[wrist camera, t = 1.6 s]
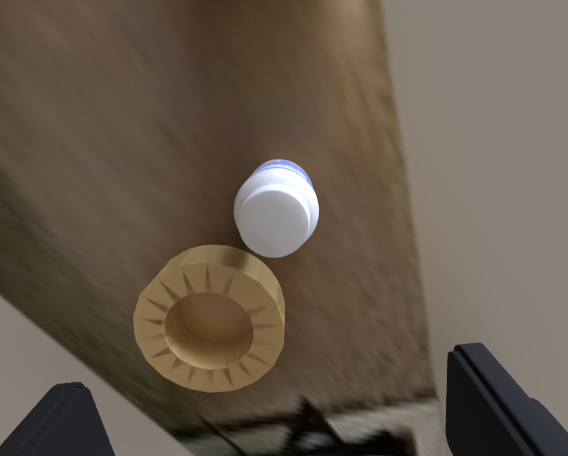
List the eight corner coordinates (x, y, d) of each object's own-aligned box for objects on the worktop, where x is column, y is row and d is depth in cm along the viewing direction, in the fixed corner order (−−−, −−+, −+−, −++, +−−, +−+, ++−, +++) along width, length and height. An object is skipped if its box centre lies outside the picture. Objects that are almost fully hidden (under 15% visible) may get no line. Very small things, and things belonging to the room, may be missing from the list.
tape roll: (136, 252, 29) (114, 272, 26) (275, 236, 29) (274, 254, 25) (168, 366, 33) (153, 398, 29) (292, 354, 32) (293, 385, 29)
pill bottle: (302, 229, 28) (308, 281, 19) (240, 213, 28) (216, 259, 19) (320, 167, 27) (336, 191, 18) (254, 150, 26) (236, 165, 17)
